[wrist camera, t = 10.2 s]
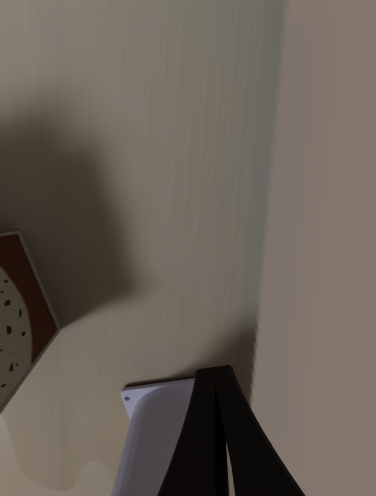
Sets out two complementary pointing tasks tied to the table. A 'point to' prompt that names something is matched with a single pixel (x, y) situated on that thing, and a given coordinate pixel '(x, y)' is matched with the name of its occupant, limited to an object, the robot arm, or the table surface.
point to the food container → (21, 315)
